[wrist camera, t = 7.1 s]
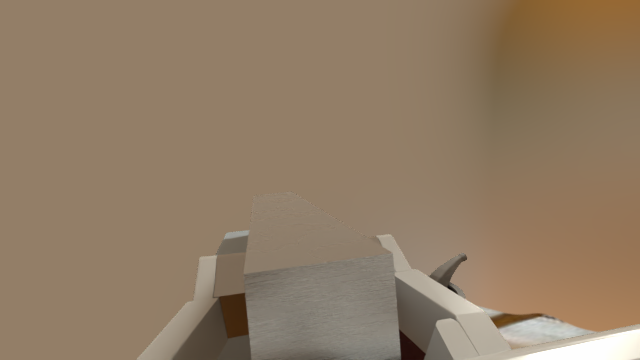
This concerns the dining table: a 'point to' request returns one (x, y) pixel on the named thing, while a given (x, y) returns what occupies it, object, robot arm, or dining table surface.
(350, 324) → the bar
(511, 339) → the dining table surface
